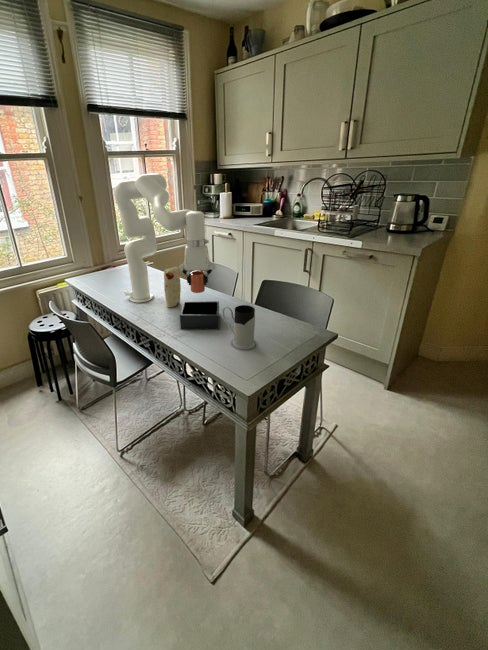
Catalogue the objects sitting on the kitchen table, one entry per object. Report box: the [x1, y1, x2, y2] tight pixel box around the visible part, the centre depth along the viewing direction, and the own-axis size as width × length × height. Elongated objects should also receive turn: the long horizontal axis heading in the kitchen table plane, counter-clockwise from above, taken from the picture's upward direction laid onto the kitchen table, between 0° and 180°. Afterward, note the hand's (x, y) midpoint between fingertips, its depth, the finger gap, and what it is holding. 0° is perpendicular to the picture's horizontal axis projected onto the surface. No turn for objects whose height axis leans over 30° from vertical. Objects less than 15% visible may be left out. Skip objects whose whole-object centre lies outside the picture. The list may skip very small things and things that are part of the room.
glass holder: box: [222, 304, 256, 350], centre depth 123 cm, size 9×14×15 cm, turn 49°
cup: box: [190, 270, 206, 294], centre depth 136 cm, size 6×6×8 cm
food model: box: [163, 266, 182, 308], centre depth 157 cm, size 10×7×20 cm
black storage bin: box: [179, 300, 220, 330], centre depth 142 cm, size 17×15×7 cm
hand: (197, 283), depth 136 cm, fingers closed on cup, 6 cm apart
